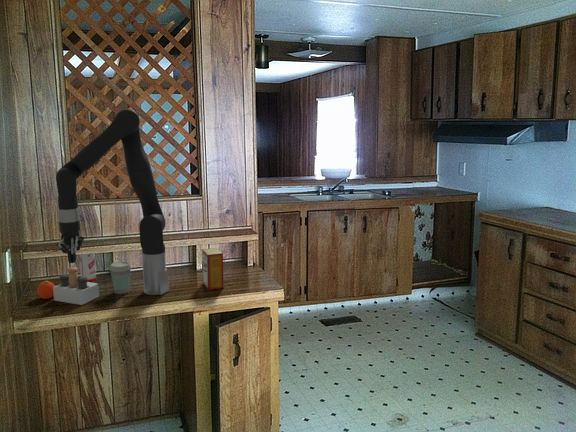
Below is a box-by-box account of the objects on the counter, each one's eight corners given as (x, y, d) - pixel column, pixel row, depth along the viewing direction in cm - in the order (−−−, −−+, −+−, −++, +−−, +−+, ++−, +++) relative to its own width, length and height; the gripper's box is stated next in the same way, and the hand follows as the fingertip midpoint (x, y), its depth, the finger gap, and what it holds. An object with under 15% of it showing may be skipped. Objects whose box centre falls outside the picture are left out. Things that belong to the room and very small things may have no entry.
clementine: (40, 294, 214) (38, 278, 212) (58, 293, 215) (57, 277, 214) (35, 302, 206) (34, 284, 205) (54, 300, 208) (53, 283, 206)
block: (99, 296, 213) (98, 283, 212) (82, 305, 204) (81, 291, 202) (72, 292, 217) (71, 279, 216) (54, 300, 208) (52, 287, 207)
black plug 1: (73, 293, 212) (72, 275, 210) (66, 296, 208) (65, 277, 207) (65, 292, 213) (64, 273, 211) (58, 295, 209) (57, 276, 208)
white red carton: (98, 279, 233) (96, 245, 229) (92, 284, 227) (89, 248, 223) (85, 279, 233) (82, 244, 230) (78, 284, 227) (75, 248, 224)
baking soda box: (202, 283, 230) (202, 248, 226) (217, 281, 232) (216, 247, 229) (208, 290, 221) (207, 254, 218) (223, 288, 224) (222, 252, 220)
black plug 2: (90, 296, 209) (89, 277, 207) (84, 299, 205) (82, 280, 204) (83, 295, 210) (81, 276, 209) (76, 298, 207) (74, 279, 205)
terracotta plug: (81, 286, 210) (80, 267, 208) (74, 289, 206) (73, 270, 204) (73, 285, 211) (72, 266, 209) (66, 288, 207) (65, 269, 206)
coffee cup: (132, 294, 216) (131, 266, 213) (110, 296, 213) (109, 267, 211) (132, 287, 224) (131, 260, 221) (111, 289, 221) (109, 261, 219)
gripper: (64, 223, 195) (67, 268, 199) (88, 217, 208) (91, 259, 211) (48, 222, 198) (52, 266, 201) (73, 215, 210) (76, 257, 214)
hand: (72, 262), depth 206 cm, fingers closed
